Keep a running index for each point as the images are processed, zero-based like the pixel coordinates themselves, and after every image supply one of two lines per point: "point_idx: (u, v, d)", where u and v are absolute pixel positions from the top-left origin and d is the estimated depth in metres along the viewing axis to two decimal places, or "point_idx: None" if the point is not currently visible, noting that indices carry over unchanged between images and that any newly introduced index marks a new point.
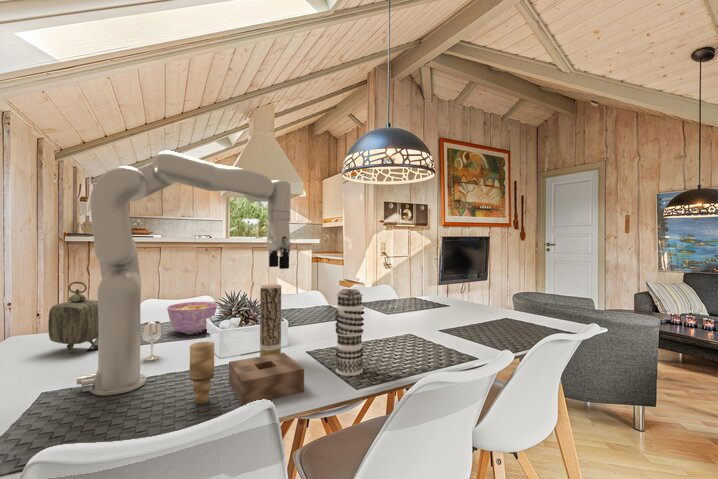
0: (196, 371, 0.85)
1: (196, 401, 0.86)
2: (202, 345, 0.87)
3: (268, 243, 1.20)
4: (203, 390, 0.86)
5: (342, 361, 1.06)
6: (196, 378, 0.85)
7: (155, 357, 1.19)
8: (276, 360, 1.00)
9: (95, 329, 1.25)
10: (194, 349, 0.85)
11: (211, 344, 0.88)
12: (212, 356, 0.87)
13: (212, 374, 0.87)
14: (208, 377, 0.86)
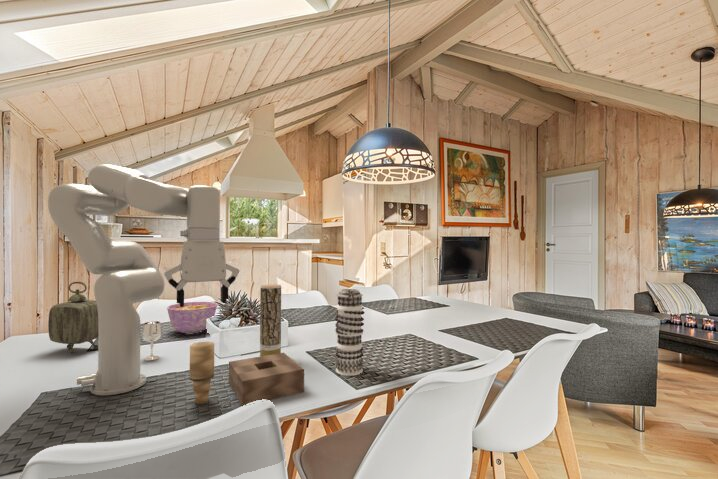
0: (196, 371, 0.85)
1: (196, 401, 0.86)
2: (202, 345, 0.87)
3: (193, 272, 0.84)
4: (203, 390, 0.86)
5: (342, 361, 1.06)
6: (196, 378, 0.85)
7: (155, 357, 1.19)
8: (276, 360, 1.00)
9: (95, 329, 1.25)
10: (194, 349, 0.85)
11: (211, 344, 0.88)
12: (212, 356, 0.87)
13: (212, 374, 0.87)
14: (208, 377, 0.86)
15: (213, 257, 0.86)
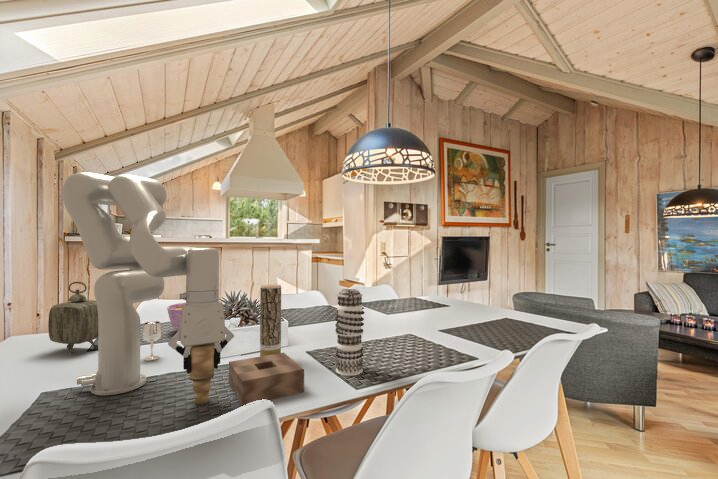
0: (196, 371, 0.85)
1: (196, 401, 0.86)
2: (202, 345, 0.87)
3: (192, 336, 0.84)
4: (203, 390, 0.86)
5: (342, 361, 1.06)
6: (196, 378, 0.85)
7: (155, 357, 1.19)
8: (276, 360, 1.00)
9: (95, 329, 1.25)
10: (194, 349, 0.85)
11: (211, 344, 0.88)
12: (212, 356, 0.87)
13: (212, 374, 0.87)
14: (208, 377, 0.86)
15: (212, 319, 0.86)
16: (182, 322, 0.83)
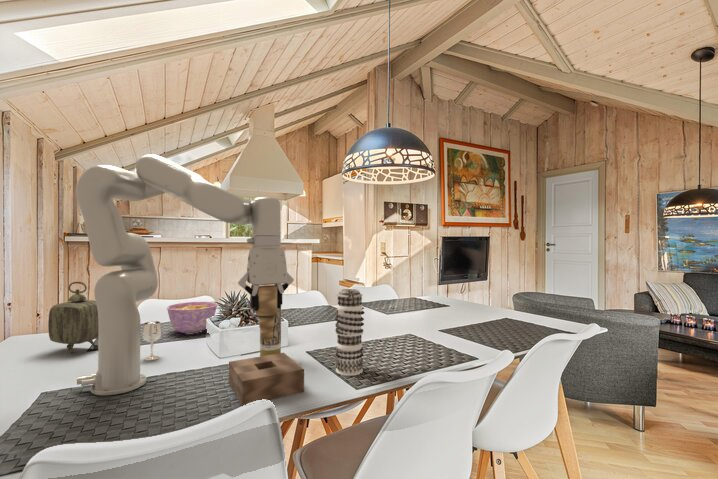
0: (264, 308, 0.93)
1: (263, 336, 0.94)
2: (267, 286, 0.95)
3: (260, 276, 0.92)
4: (269, 326, 0.94)
5: (342, 361, 1.06)
6: (264, 315, 0.93)
7: (155, 357, 1.19)
8: (276, 360, 1.00)
9: (95, 329, 1.25)
10: (261, 288, 0.93)
11: (275, 286, 0.96)
12: (276, 296, 0.96)
13: (276, 313, 0.96)
14: (273, 314, 0.94)
15: (276, 262, 0.95)
16: (251, 263, 0.92)
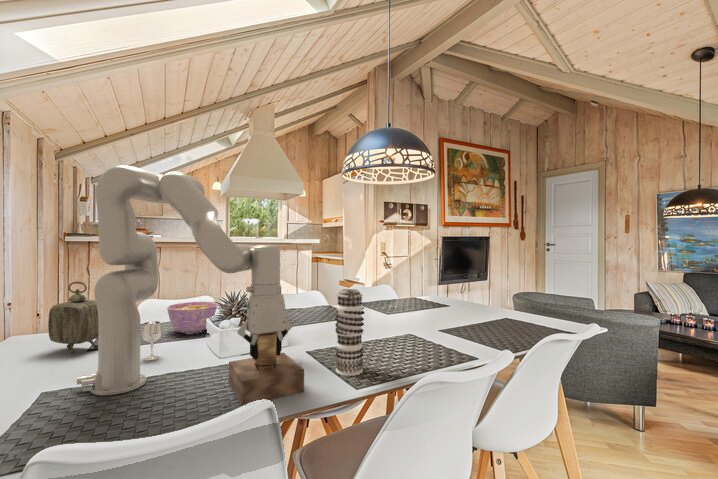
0: (263, 357, 0.93)
1: None
2: (266, 334, 0.95)
3: (259, 325, 0.92)
4: None
5: (342, 361, 1.06)
6: (263, 364, 0.93)
7: (155, 357, 1.19)
8: None
9: (95, 329, 1.25)
10: (260, 337, 0.93)
11: (274, 333, 0.96)
12: (275, 344, 0.95)
13: (275, 360, 0.96)
14: (273, 363, 0.94)
15: (276, 310, 0.95)
16: (250, 313, 0.92)
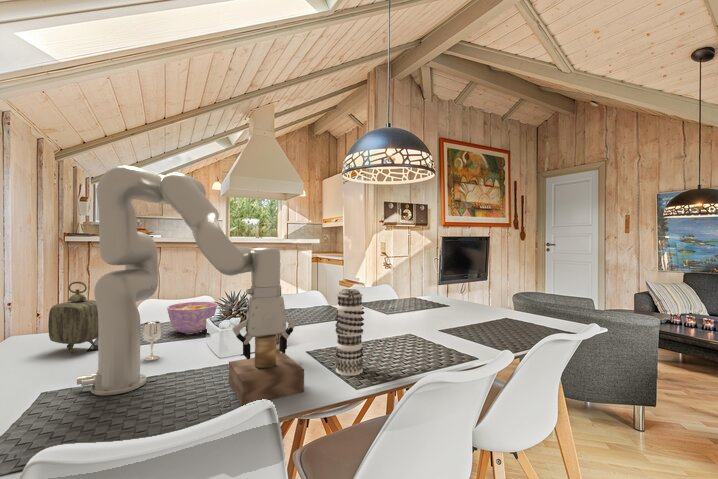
0: (262, 359, 0.93)
1: None
2: (266, 337, 0.95)
3: (259, 328, 0.92)
4: None
5: (342, 361, 1.06)
6: (262, 366, 0.93)
7: (155, 357, 1.19)
8: (276, 360, 1.00)
9: (95, 329, 1.25)
10: (260, 340, 0.93)
11: (273, 335, 0.96)
12: (275, 346, 0.95)
13: (275, 363, 0.96)
14: (272, 365, 0.94)
15: (275, 313, 0.95)
16: (250, 315, 0.92)
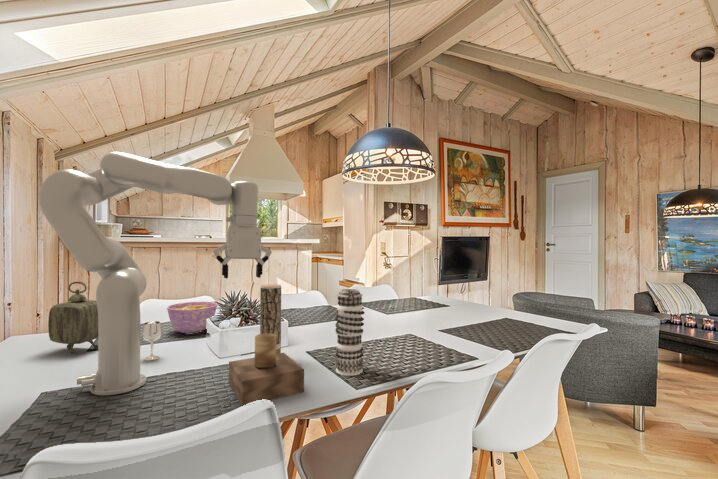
0: (262, 359, 0.93)
1: None
2: (266, 337, 0.95)
3: (236, 251, 1.04)
4: None
5: (342, 361, 1.06)
6: (262, 366, 0.93)
7: (155, 357, 1.19)
8: (276, 360, 1.00)
9: (95, 329, 1.25)
10: (260, 340, 0.93)
11: (273, 335, 0.96)
12: (275, 346, 0.95)
13: (275, 363, 0.96)
14: (272, 365, 0.94)
15: (251, 239, 1.06)
16: (228, 239, 1.04)
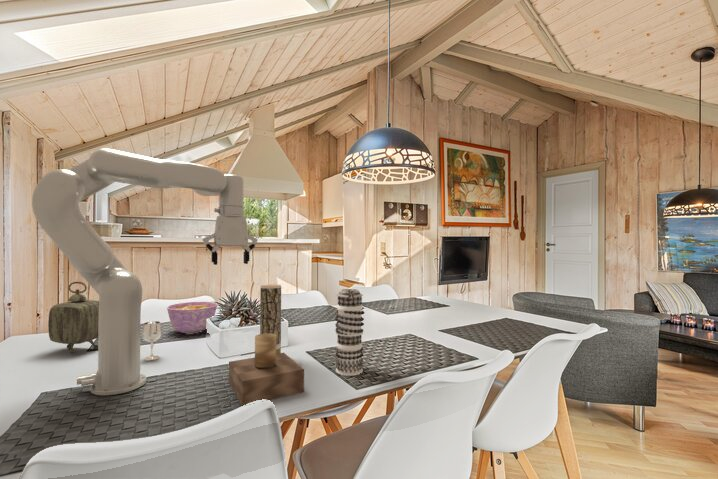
0: (262, 359, 0.93)
1: None
2: (266, 337, 0.95)
3: (224, 239, 1.12)
4: None
5: (342, 361, 1.06)
6: (262, 366, 0.93)
7: (155, 357, 1.19)
8: (276, 360, 1.00)
9: (95, 329, 1.25)
10: (260, 340, 0.93)
11: (273, 335, 0.96)
12: (275, 346, 0.95)
13: (275, 363, 0.96)
14: (272, 365, 0.94)
15: (238, 228, 1.15)
16: (217, 228, 1.12)
